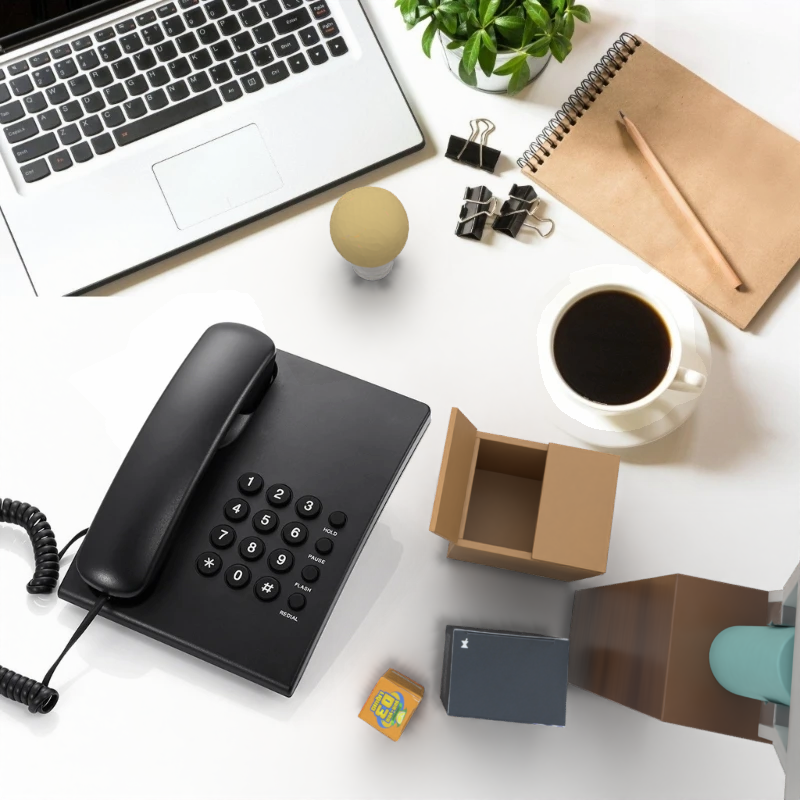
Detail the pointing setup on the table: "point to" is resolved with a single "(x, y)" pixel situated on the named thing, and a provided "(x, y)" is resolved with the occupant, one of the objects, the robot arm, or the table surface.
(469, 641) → the box
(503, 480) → the carton
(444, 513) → the flap
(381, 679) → the supplement box
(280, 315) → the table surface
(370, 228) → the light bulb
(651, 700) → the stand
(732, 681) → the teal plastic cylinder
